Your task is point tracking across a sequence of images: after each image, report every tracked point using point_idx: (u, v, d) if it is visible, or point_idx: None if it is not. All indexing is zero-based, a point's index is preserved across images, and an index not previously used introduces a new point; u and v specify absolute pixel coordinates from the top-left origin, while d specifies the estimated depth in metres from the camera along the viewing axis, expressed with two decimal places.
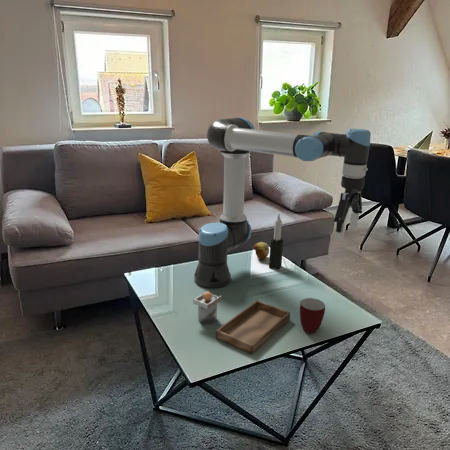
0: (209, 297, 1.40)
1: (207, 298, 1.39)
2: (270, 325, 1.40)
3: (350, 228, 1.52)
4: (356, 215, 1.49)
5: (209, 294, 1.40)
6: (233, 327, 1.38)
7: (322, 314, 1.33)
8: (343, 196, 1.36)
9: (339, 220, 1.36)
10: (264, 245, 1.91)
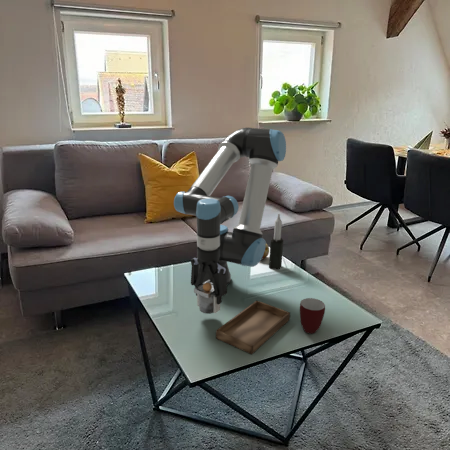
0: (209, 290, 1.38)
1: (207, 291, 1.38)
2: (270, 325, 1.40)
3: None
4: None
5: (208, 288, 1.37)
6: (233, 327, 1.38)
7: (322, 314, 1.33)
8: None
9: None
10: None
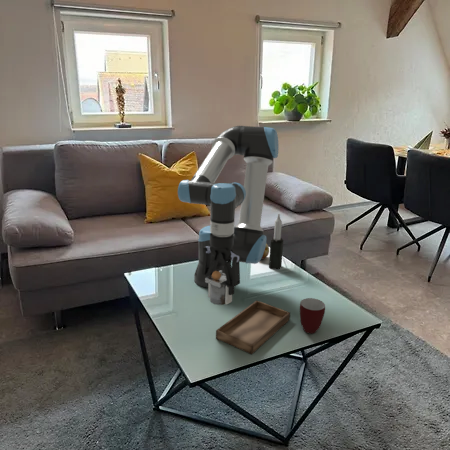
0: (219, 275, 1.33)
1: (219, 277, 1.33)
2: (270, 325, 1.40)
3: None
4: None
5: (217, 273, 1.33)
6: (233, 327, 1.38)
7: (322, 314, 1.33)
8: None
9: None
10: None
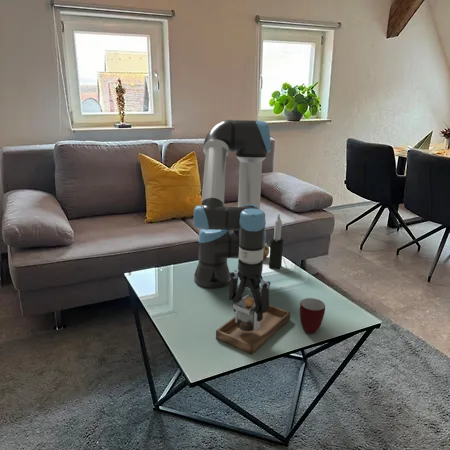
0: None
1: None
2: (270, 325, 1.40)
3: None
4: None
5: (252, 298, 1.31)
6: (233, 327, 1.38)
7: (322, 314, 1.33)
8: None
9: None
10: None
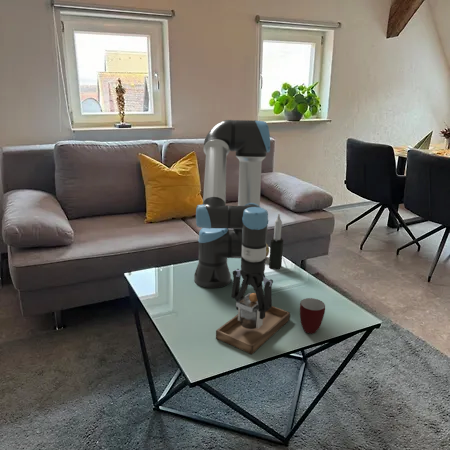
0: None
1: None
2: (270, 325, 1.40)
3: None
4: None
5: None
6: (233, 327, 1.38)
7: (322, 314, 1.33)
8: None
9: None
10: None
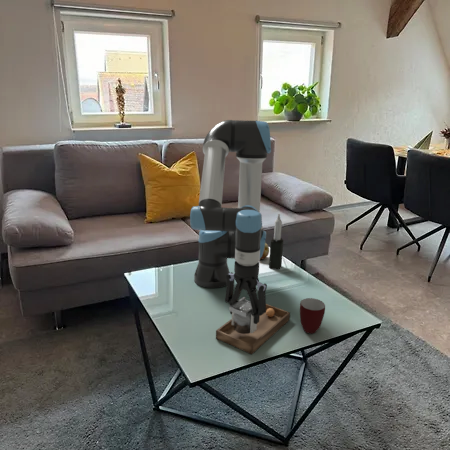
0: None
1: None
2: (270, 325, 1.40)
3: None
4: None
5: (271, 308, 1.45)
6: (233, 327, 1.38)
7: (322, 314, 1.33)
8: None
9: None
10: None
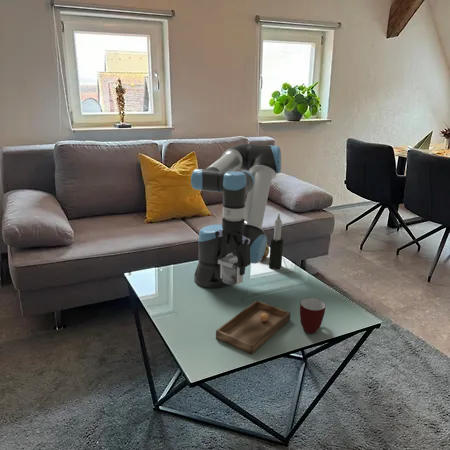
0: (263, 319, 1.41)
1: (265, 318, 1.40)
2: (270, 325, 1.40)
3: None
4: None
5: (263, 321, 1.41)
6: (233, 327, 1.38)
7: (322, 314, 1.33)
8: None
9: None
10: None
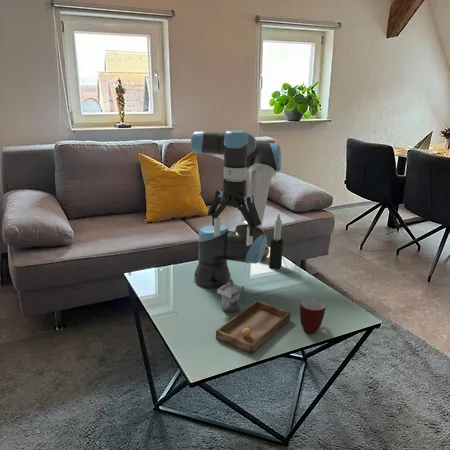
0: None
1: (248, 336, 1.32)
2: (270, 325, 1.40)
3: None
4: None
5: None
6: (233, 327, 1.38)
7: (322, 314, 1.33)
8: None
9: None
10: None
